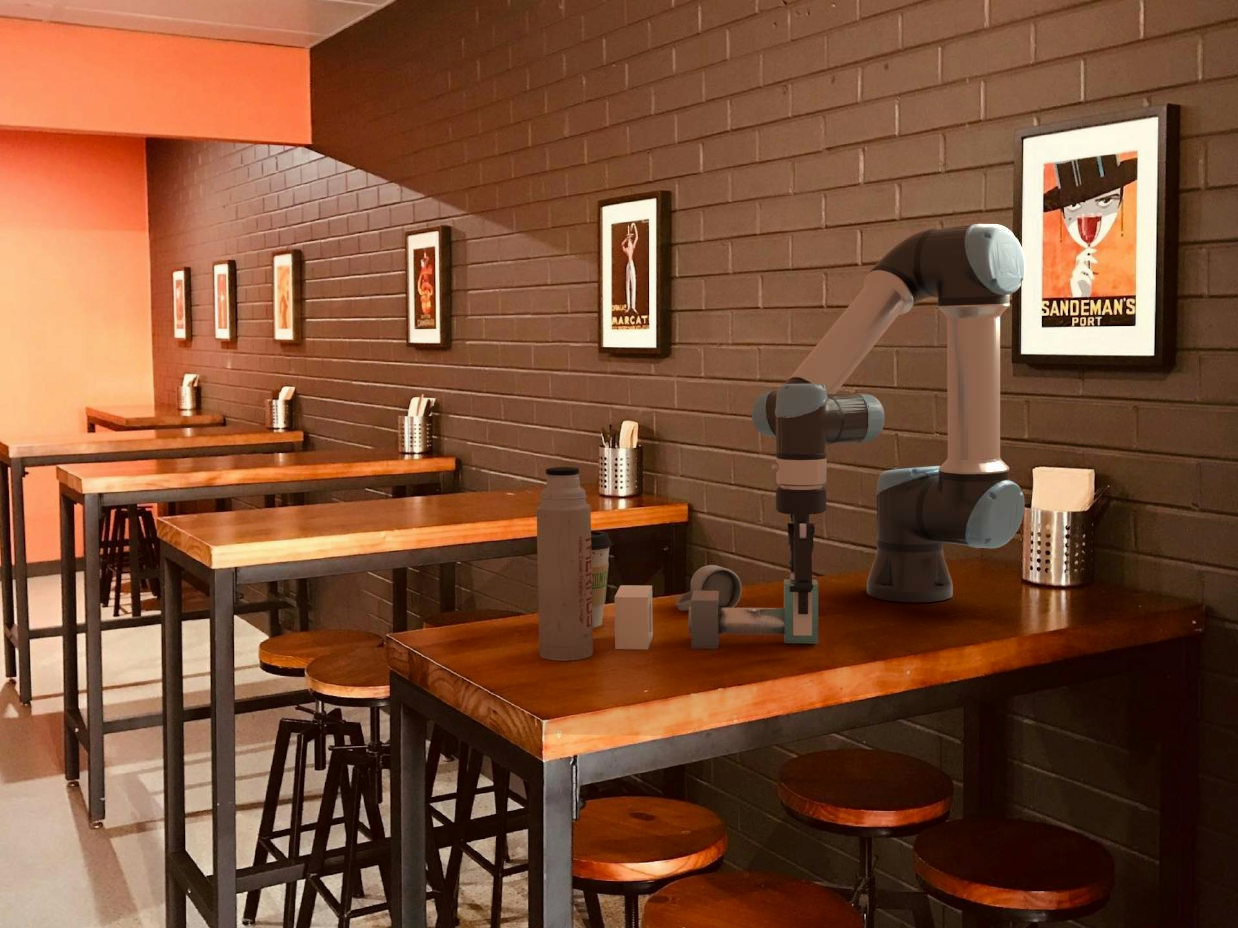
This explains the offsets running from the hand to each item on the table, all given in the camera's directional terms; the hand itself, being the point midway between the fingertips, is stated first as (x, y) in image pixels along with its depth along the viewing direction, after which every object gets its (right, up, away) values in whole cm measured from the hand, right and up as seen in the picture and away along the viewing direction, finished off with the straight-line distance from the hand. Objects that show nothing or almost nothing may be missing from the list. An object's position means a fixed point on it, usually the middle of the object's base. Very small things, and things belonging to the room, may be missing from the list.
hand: (800, 624), depth 194 cm
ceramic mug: (-12, -1, +26) cm, 29 cm away
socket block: (-25, -3, +3) cm, 26 cm away
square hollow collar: (-14, -3, +2) cm, 15 cm away
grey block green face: (-7, -2, +1) cm, 8 cm away
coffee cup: (-34, -2, +16) cm, 37 cm away
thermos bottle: (-36, -4, -4) cm, 36 cm away
